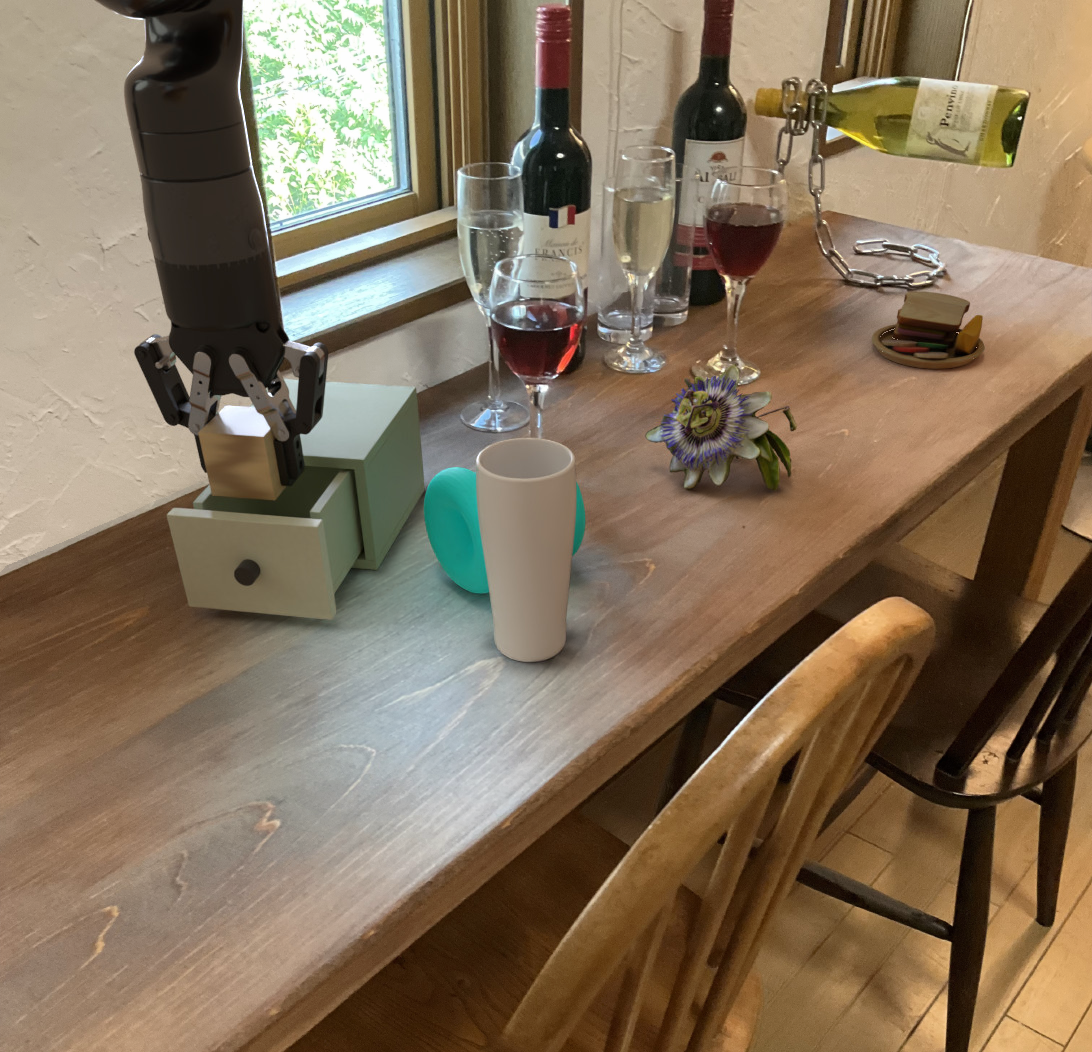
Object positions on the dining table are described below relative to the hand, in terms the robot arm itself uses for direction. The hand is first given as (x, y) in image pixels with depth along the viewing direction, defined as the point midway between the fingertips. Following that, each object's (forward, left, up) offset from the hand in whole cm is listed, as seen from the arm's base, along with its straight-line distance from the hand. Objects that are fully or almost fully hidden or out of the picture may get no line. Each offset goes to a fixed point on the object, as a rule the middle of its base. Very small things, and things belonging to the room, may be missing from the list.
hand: (254, 478), depth 85 cm
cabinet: (+1, +11, -9) cm, 15 cm away
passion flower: (+34, +26, -10) cm, 44 cm away
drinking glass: (+22, -5, -10) cm, 25 cm away
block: (0, 0, 0) cm, 0 cm away
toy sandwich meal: (+55, +62, -10) cm, 84 cm away
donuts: (+18, +5, -10) cm, 21 cm away
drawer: (+1, +1, -9) cm, 9 cm away
